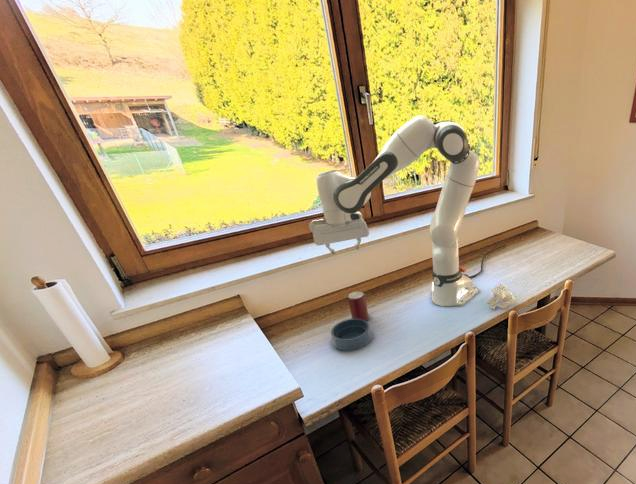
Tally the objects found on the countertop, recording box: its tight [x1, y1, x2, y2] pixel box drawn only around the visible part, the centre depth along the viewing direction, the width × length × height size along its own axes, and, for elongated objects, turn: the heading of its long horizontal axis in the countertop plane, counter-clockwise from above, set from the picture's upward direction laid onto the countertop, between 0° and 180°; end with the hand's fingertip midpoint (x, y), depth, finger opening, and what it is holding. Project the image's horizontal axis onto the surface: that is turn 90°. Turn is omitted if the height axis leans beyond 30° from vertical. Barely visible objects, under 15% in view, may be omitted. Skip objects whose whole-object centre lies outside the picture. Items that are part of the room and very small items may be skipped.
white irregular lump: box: [485, 283, 518, 310], centre depth 155 cm, size 12×9×10 cm
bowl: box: [330, 318, 373, 352], centre depth 133 cm, size 14×14×6 cm
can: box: [347, 291, 370, 322], centre depth 144 cm, size 6×6×12 cm
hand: (345, 251), depth 141 cm, fingers open, 8 cm apart
